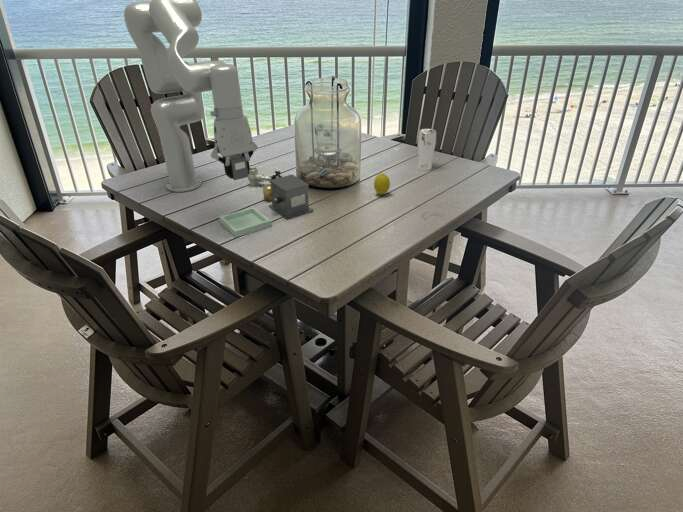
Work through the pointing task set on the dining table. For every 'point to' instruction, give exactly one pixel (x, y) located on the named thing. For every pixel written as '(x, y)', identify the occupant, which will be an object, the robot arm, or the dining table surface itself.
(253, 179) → the valve
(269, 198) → the cylinder
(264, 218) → the tray
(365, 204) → the dining table surface
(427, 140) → the beer glass
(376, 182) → the lemon
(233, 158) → the block
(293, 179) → the box
